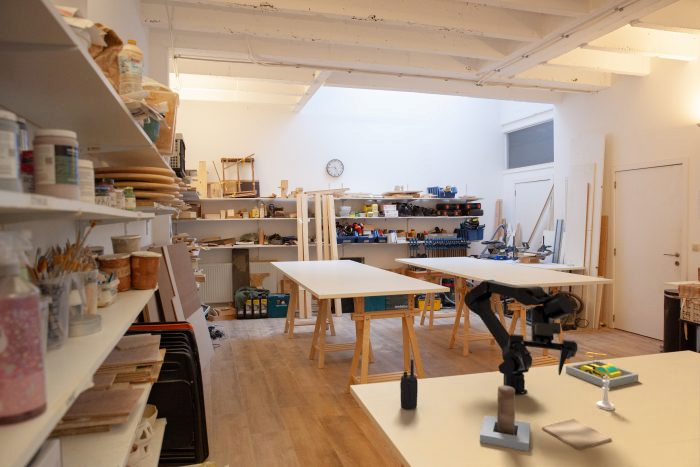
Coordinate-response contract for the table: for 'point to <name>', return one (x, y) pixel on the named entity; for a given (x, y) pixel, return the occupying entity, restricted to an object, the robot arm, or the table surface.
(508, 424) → the walnut dowel
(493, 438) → the holder block
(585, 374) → the tray
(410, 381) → the two-way radio
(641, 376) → the table surface
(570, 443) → the wooden coaster
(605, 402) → the chess piece
